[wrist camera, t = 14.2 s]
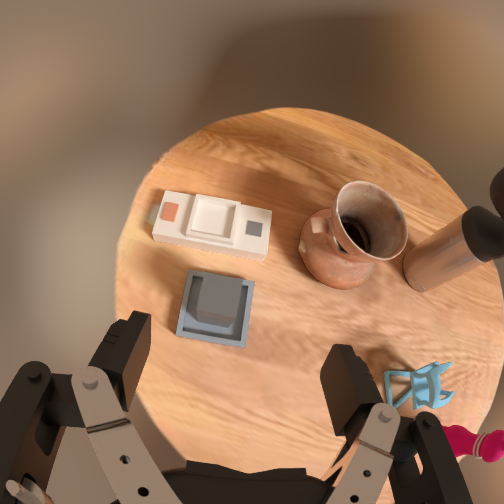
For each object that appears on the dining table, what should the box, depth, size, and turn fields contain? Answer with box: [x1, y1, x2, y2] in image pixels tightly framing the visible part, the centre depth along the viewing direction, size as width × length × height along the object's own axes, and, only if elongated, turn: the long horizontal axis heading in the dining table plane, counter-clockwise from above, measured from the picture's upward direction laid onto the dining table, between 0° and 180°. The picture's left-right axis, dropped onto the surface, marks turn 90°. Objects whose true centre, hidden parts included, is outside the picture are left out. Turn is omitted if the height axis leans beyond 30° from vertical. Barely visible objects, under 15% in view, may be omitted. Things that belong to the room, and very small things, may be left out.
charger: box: [196, 272, 243, 328], centre depth 37 cm, size 5×5×10 cm
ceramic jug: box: [298, 181, 408, 290], centre depth 43 cm, size 18×14×14 cm
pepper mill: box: [442, 425, 504, 462], centre depth 29 cm, size 7×7×20 cm
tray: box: [176, 269, 255, 348], centre depth 42 cm, size 10×10×2 cm
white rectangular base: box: [152, 191, 272, 262], centre depth 45 cm, size 18×8×4 cm, turn 82°
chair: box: [383, 362, 455, 409], centre depth 37 cm, size 8×8×12 cm
